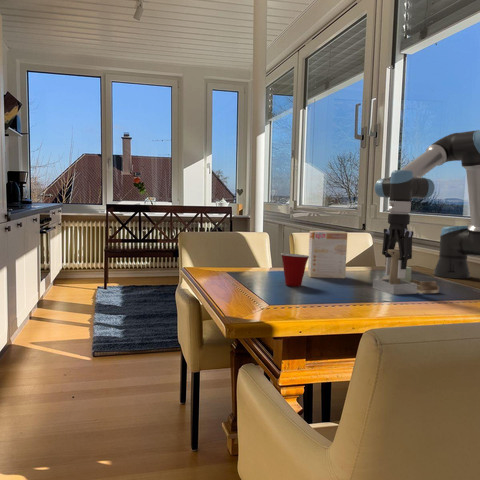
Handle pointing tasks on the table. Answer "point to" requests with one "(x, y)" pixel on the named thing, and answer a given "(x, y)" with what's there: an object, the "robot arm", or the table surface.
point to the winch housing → (395, 287)
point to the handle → (394, 266)
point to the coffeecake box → (327, 254)
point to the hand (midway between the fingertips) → (395, 276)
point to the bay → (424, 286)
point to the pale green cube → (407, 275)
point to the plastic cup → (294, 268)
